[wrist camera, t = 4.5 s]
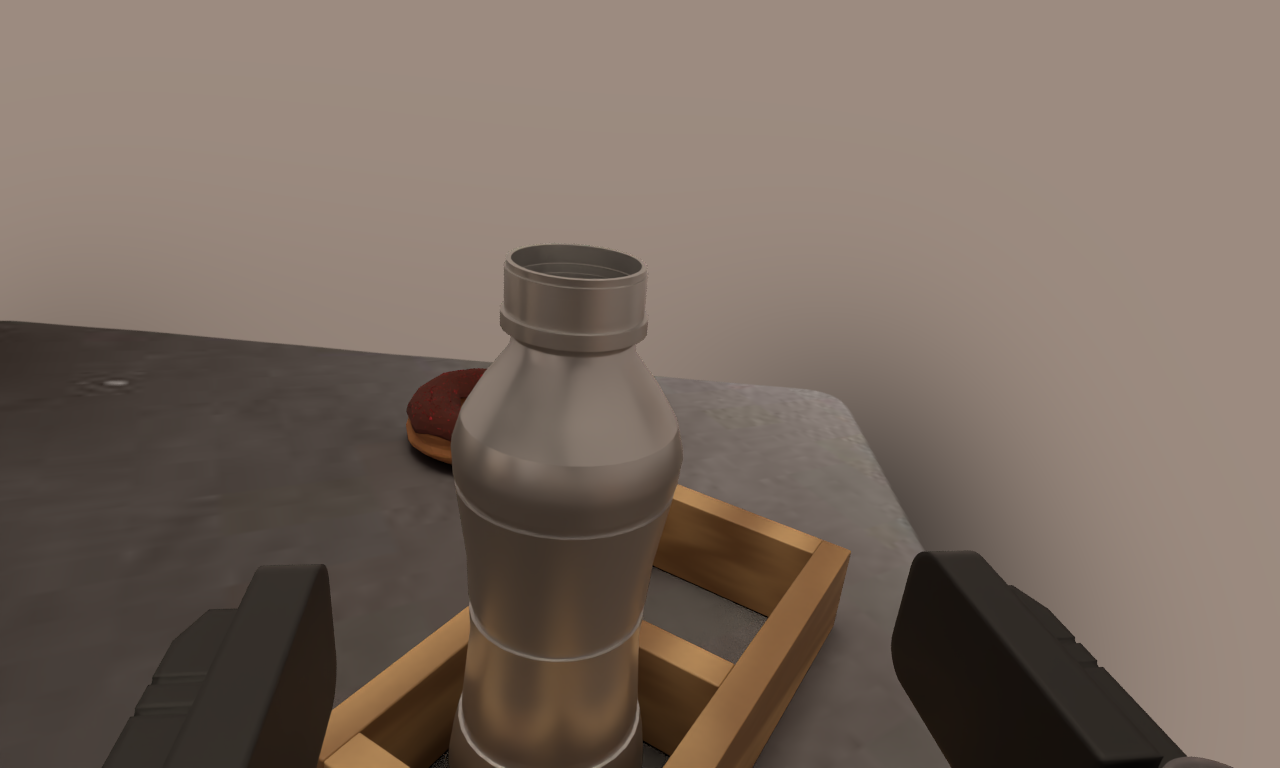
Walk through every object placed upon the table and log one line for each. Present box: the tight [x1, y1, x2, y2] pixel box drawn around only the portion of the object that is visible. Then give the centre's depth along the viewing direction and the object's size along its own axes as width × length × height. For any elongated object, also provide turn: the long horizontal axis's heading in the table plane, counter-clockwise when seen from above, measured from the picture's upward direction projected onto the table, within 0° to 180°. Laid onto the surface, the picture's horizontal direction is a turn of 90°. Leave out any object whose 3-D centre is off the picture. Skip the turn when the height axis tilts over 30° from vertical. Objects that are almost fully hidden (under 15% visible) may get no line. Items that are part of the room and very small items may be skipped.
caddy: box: [317, 484, 851, 768], centre depth 31 cm, size 11×21×4 cm, turn 149°
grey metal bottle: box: [448, 243, 683, 768], centre depth 24 cm, size 6×7×20 cm
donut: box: [406, 368, 487, 464], centre depth 51 cm, size 10×10×4 cm
